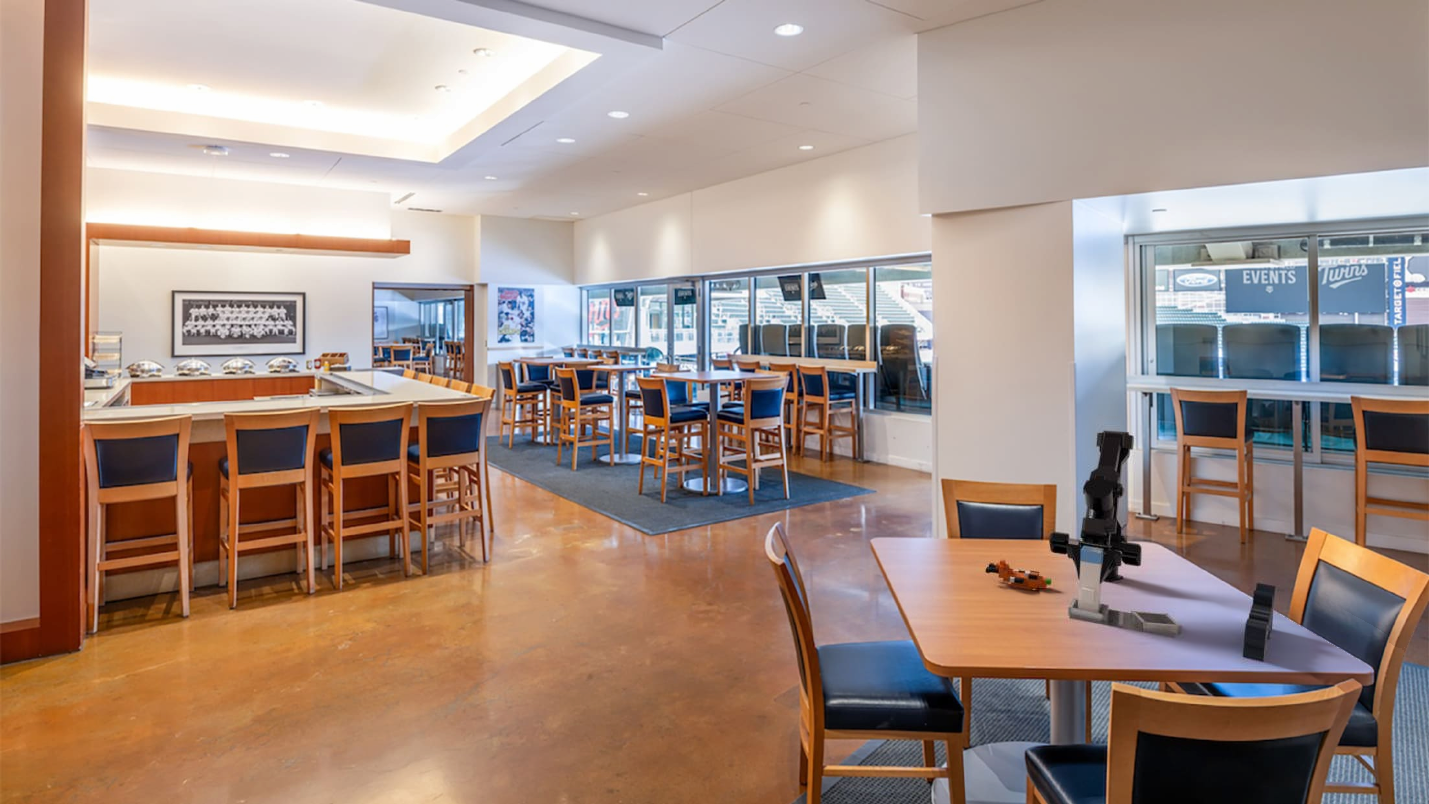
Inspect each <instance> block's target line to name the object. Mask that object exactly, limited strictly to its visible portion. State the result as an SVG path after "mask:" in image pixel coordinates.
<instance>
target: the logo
mask: <svg viewBox="0 0 1429 804" xmlns="http://www.w3.org/2000/svg"><path fill="white" fill-rule="evenodd" d="M1252 595H1253V597H1252V598H1253V599H1252V604H1251V607H1250V611H1249V613H1248V617H1247V619H1246V622H1245V627H1244V635H1243V636H1244V638H1243V651H1242V658H1246V659H1249V660H1253V661H1259V662H1264V660H1265V656H1266V653H1267V649H1268V645H1269V640H1270V638H1271V637H1270V636H1271V631H1272V630H1273V624H1274V623H1273V621H1274V620H1273V619H1274V609H1275V597H1276V585H1271V584H1265V583H1261V582H1256V585H1255V589H1254V590H1253V594H1252Z"/></svg>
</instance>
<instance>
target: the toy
mask: <svg viewBox="0 0 1429 804" xmlns="http://www.w3.org/2000/svg"><path fill="white" fill-rule="evenodd" d="M991 573H993V574H997V575H998V578H999V579H1002V580H1003V582H1007V583H1011V585H1010V586H1011V587H1014V586H1015V587H1014V588H1020V589H1025V588H1026V590H1031V589H1035V590H1034V591H1038V588H1043V589H1046V588H1047V587H1048V586H1051V584H1052V578H1050V577H1049V578H1048V577H1044V576H1043V575H1040V571H1035V570H1020V569H1014V568H1011V567H1010V564H1009V563H1006V559H1003V558H1000V561H998V562H996V563H994V562H993V563H992V562H990V563H989V564H988V566H986V568H985V574H991Z"/></svg>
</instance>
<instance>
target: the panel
mask: <svg viewBox="0 0 1429 804" xmlns="http://www.w3.org/2000/svg"><path fill="white" fill-rule="evenodd" d="M1075 608H1076V609H1078V607H1075ZM1098 613H1102V612H1101V611H1098ZM1069 619H1070V620H1076V621H1082V622H1087V623H1093V624H1097V625H1103V626H1109V627H1114V628H1120V629H1124V630H1130V631H1135V632H1140V633H1141V632H1142V633H1146V634H1150V635H1151V634H1152V635H1158V636H1161V637H1162V636H1163V637H1167V638H1173V639H1175V638H1176V634H1175V633H1166V632H1155V631H1143V630H1142V629H1141V628H1140V627H1139V626H1138V625H1137V624H1136V623H1135V622H1134V621H1133V620H1132V618H1131V612H1126V611H1121V610H1116V609H1110V608H1109V611H1108V615H1107V617H1106V620H1105V622H1101V621H1096V620H1091V619H1086V618H1081V617H1076V616H1071V615H1069ZM1144 621H1145V622H1148V623H1160V624H1167V623H1166V622H1165V621H1153V620H1144Z"/></svg>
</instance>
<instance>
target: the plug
mask: <svg viewBox="0 0 1429 804" xmlns="http://www.w3.org/2000/svg"><path fill="white" fill-rule="evenodd" d="M1103 550H1104V549H1102V548H1096V547H1089V546H1083V547H1082V549H1081V558H1080V561H1081V563H1080V580H1079V579H1078V580H1079V583H1078V598H1077V599H1078V609H1081V610H1086V611H1091V612H1097V613H1098V611H1099V609H1100V604H1101V595H1102V593H1101V592H1102V590H1101V589H1102V584H1100V574H1101V570H1102V562H1103Z"/></svg>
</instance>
